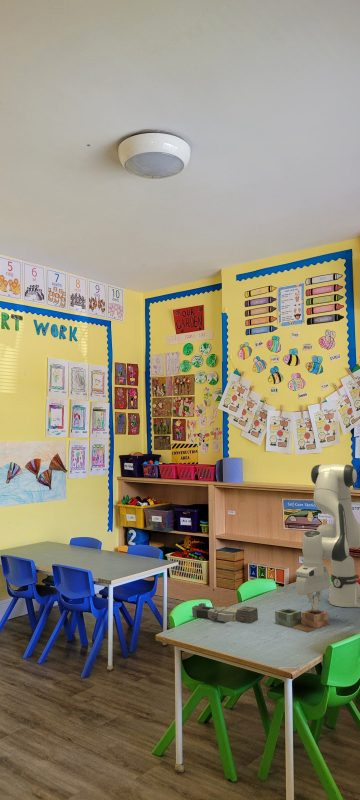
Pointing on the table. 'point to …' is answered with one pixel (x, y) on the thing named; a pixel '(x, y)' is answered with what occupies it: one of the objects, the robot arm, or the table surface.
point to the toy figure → (226, 613)
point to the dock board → (301, 619)
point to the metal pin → (314, 604)
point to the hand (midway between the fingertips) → (314, 601)
